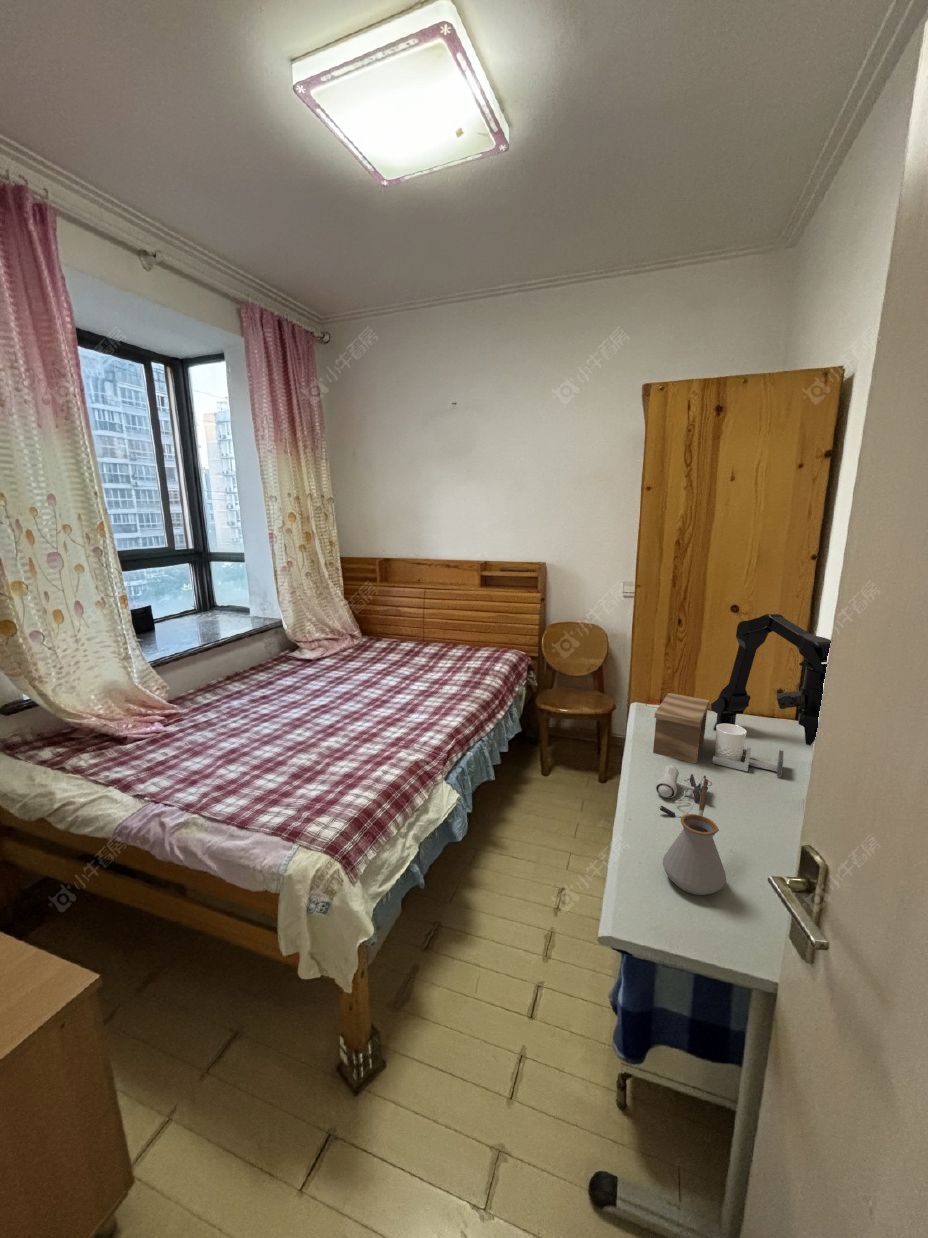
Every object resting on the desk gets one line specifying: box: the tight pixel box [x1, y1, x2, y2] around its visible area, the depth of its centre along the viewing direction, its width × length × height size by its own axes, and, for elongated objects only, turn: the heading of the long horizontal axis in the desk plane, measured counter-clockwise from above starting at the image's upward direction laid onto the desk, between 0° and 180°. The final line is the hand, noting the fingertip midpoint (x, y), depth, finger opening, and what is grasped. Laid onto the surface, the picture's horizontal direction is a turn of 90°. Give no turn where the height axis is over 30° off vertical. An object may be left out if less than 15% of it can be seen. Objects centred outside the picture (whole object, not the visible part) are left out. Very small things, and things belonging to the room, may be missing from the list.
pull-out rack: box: [712, 747, 784, 778], centre depth 145 cm, size 11×17×4 cm, turn 57°
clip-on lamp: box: [655, 765, 707, 818], centre depth 126 cm, size 12×6×18 cm
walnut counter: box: [652, 692, 710, 764], centre depth 154 cm, size 20×12×14 cm, turn 147°
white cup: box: [714, 724, 748, 762], centre depth 147 cm, size 8×8×10 cm
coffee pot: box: [662, 778, 727, 896], centre depth 102 cm, size 21×12×15 cm, turn 150°
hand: (807, 740), depth 136 cm, fingers open, 5 cm apart
